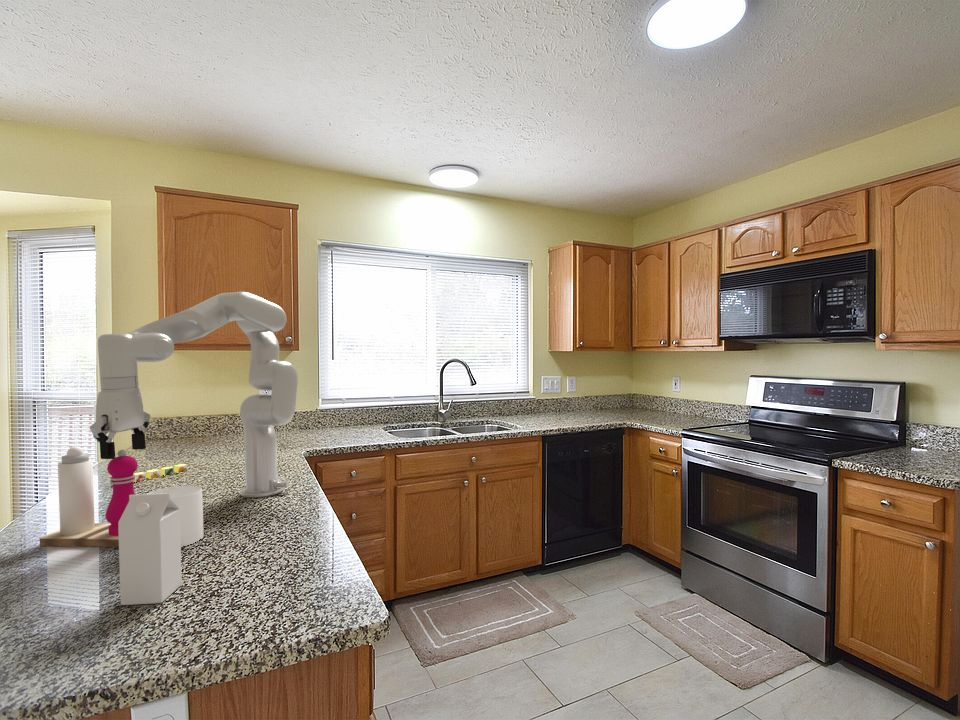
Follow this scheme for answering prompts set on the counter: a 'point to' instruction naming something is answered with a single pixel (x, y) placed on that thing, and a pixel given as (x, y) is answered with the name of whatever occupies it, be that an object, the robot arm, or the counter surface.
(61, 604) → the counter surface
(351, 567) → the counter surface
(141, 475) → the stock cubes
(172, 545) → the milk carton
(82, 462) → the salt mill
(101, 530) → the wooden divided tray
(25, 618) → the counter surface
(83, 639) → the counter surface
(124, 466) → the pepper mill
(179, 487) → the cup
